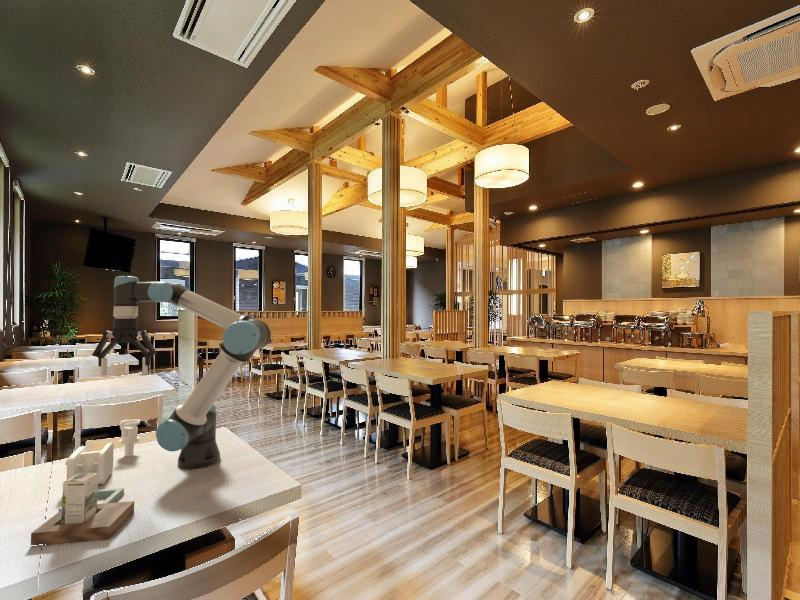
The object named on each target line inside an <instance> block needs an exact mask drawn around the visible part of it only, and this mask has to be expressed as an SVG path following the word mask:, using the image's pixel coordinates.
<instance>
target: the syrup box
mask: <svg viewBox="0 0 800 600" xmlns="http://www.w3.org/2000/svg"><path fill="white" fill-rule="evenodd" d="M98 485H99V484H98V473H79V474H76V475H75V476H73V477H71V478H70V479H68V480H67V479H66V480H65V481H63V482H62V497H61V498H62V499H61V501H62V502H61V507H62V519H61V525H67V524H79V523H87V522H88V521H89V520H90V519H91V518H92V517H93V516H94V515H96V514H97V504H98V498H97V493H98V490H99V489H98V488H99V486H98Z"/></svg>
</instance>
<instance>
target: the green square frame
mask: <svg viewBox="0 0 800 600" xmlns="http://www.w3.org/2000/svg"><path fill="white" fill-rule="evenodd" d="M123 495H125V487H117V488H116V487H115V488H105V489H98V493H97V499H102V498H106V499H105V500H104V501H102V503H100V504H104V503H117V502H118V500H119V499H120V498H122V496H123ZM116 501H117V502H116ZM61 510H62V506H61V507H59V508H58V512H59V511H61Z"/></svg>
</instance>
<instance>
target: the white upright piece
mask: <svg viewBox="0 0 800 600" xmlns="http://www.w3.org/2000/svg"><path fill="white" fill-rule="evenodd" d="M140 424H141V420H140V419H124V420H120V422H119V430H121V438H120V439H119V440H118V441H119V442H118V444H119V445H121V446H122V445H124V457H131V456H134V455H135V454H134V448H135V444H136V443H138V442H140V441H141V439H140V436H138V430H139V429H138V428H139V427H138V425H140ZM133 454H134V455H133Z"/></svg>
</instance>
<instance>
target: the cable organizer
mask: <svg viewBox="0 0 800 600" xmlns="http://www.w3.org/2000/svg"><path fill="white" fill-rule="evenodd" d="M65 466H66V480H68V479H70V478H71V477H73V476H75V475H76V474H79V473H98V485H103V486H104V485H105V483H106V482H107V480H108V478H109V477H110V475H111V474H112V472H113V471H114V470H113V469H114V442H113V441H112V442H108V443H106V445H105V446H103V448H102V449H101V450H95V451H88V446H87V445H83V446H82V445H81V446H79V447H78V448H77V449H76V450H74V452H72V454H71V455H69V457H68V458H67V459H66V460H65Z"/></svg>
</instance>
